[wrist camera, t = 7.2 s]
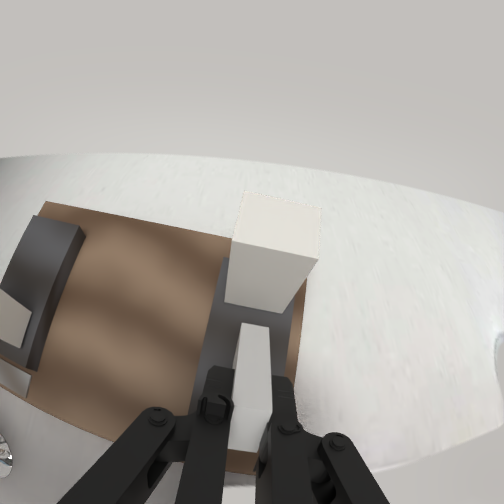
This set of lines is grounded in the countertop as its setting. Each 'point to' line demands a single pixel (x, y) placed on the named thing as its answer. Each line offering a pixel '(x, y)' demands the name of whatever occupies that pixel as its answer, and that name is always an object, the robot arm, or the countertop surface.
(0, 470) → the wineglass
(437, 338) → the countertop surface
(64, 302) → the switch unit
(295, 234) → the lever
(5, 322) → the lever
